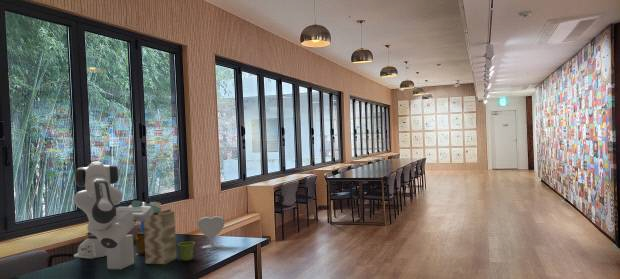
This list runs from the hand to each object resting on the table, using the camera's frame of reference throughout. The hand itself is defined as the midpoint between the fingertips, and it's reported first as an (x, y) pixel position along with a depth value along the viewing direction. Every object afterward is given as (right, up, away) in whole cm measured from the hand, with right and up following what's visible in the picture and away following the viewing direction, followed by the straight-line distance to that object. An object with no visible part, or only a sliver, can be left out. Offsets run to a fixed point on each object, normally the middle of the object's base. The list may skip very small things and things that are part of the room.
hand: (140, 203), depth 230 cm
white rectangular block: (-14, -35, +10) cm, 38 cm away
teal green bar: (+1, -4, +5) cm, 7 cm away
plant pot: (+19, -33, +18) cm, 42 cm away
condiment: (-11, -35, +36) cm, 52 cm away
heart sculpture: (+27, -33, +46) cm, 62 cm away
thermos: (-17, -35, +62) cm, 73 cm away
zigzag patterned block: (+5, -34, +16) cm, 38 cm away
